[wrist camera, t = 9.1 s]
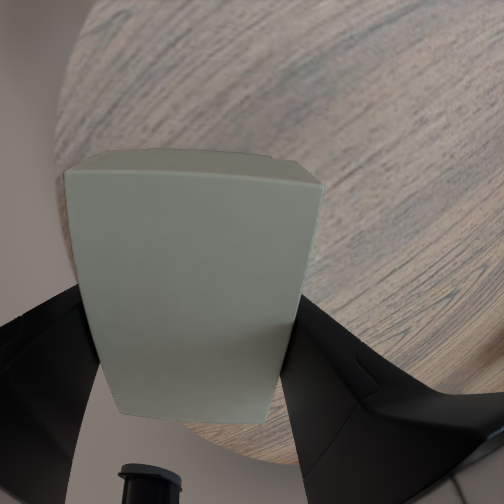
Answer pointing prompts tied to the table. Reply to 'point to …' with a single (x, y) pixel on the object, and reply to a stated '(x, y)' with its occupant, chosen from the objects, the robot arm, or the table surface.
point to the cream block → (191, 276)
